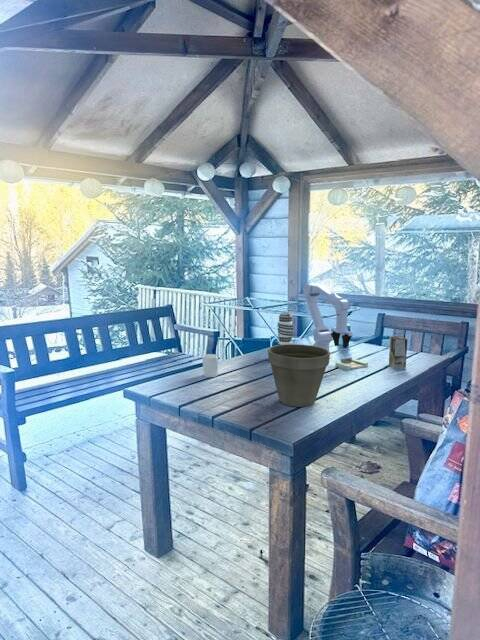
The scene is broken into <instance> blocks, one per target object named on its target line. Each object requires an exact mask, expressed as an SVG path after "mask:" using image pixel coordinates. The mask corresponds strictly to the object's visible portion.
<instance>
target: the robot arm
mask: <svg viewBox="0 0 480 640" xmlns="http://www.w3.org/2000/svg"><path fill="white" fill-rule="evenodd" d="M302 291H303V294H304V297H305V301H306V304H307V306H308V310H309V313H310V317H311V320H312V322H313V325H314V330H313V331H312V334H313V341H314V342H313V344H312V346H316V347H321V348H324V349H326V350H328V351H329V352H330V344H331V342H332V340H333V343H334V346H335V347H338V346H339V344H340V339H341V338H342V348H343V349H348V346H349V343H350V340H351V338H352V337H353V331H350V330H348V310H350V308H351V302H350V301H349V300H348V299H344V298H343V297H341V296H340V295H338V293H336V292H330V291H329V290H328V289H327V288H326V287H324V285H323V284H322V283H321V282H313V283H311V282H310V283H309V282H308V283H307V282H306V283H305V284H304V286H303V289H302ZM320 295H321V296H323V297H324V298H326V301H327V302H328V303H329V304H331V305H332V306H333V308H334V310H335V314H336V318H335V319H336V320H335V322H336V323H335V328H334V327H333V328H332V327H331V328H329V327H328V326H327V325H325V323H324V320H323V317H322V314H321V311H320V308H319V306H318V305H319V304H318V302H317V299H318V298H319V297H320ZM330 359H332V357H331V356H330V358H329V360H330Z"/></svg>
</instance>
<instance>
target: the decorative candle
mask: <svg viewBox="0 0 480 640" xmlns="http://www.w3.org/2000/svg"><path fill="white" fill-rule="evenodd" d="M292 324H293V315H292V314H291V313H290V312H281V313H280V314H279V315H278V322H277V327H278V328H277V333H278V334H277V337H278V344H277V345H286V344H293V339H292V338H293V333H294V332H293V330H294V328H293V327H294V325H292Z"/></svg>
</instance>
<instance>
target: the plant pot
mask: <svg viewBox="0 0 480 640" xmlns="http://www.w3.org/2000/svg"><path fill="white" fill-rule="evenodd" d="M267 349H268V350H267V359H268V363H269V364H270V365H271V366H270V367H271V371H272V376H273V379H274V384H275V388H276V392H277V398H278V400H279V402H280V403H281V404H283V405H285V406H287V407H296V408H304V407H310V406H312V405H314V404H315V402H316V400H317V397H318V394H319V390H320V387H321V386H322V385H321V384H322V382H323V379H324V376H325V372H326V368H327V367H328V366H329V364H330V359H329V358H330V357H331V352H330V350H329V351H328V350H326V349H324V348H321V347H316V346H313V345H309V344H297V343H296V344H294V343H292V344H286V345H278V344H277V345H274V346H271V347H269V348H267Z"/></svg>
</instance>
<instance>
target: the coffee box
mask: <svg viewBox="0 0 480 640" xmlns="http://www.w3.org/2000/svg"><path fill="white" fill-rule="evenodd" d="M389 337H390V338H389V355H388V356H389V357H388V366H389V367H391V368H392V369H393V370H407V369H406V368H407V366H406V365H407V351H408V350H407V349H408V338H405V337H404V336H400V335H399V336H397V335H395V336H389Z"/></svg>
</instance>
